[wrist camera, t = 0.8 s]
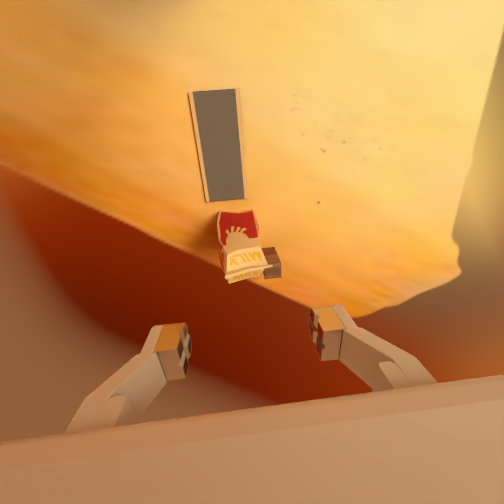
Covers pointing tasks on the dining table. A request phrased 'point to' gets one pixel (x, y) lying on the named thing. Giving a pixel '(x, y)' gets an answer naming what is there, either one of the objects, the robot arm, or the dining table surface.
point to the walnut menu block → (272, 263)
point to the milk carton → (240, 245)
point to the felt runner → (220, 143)
